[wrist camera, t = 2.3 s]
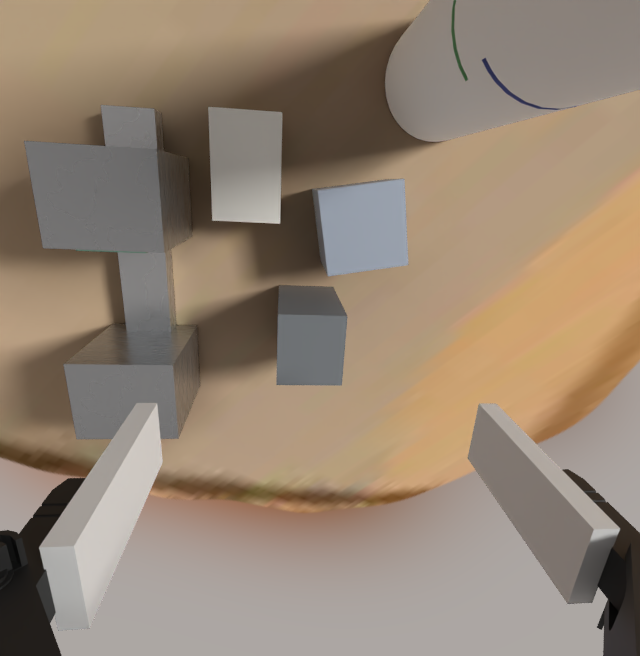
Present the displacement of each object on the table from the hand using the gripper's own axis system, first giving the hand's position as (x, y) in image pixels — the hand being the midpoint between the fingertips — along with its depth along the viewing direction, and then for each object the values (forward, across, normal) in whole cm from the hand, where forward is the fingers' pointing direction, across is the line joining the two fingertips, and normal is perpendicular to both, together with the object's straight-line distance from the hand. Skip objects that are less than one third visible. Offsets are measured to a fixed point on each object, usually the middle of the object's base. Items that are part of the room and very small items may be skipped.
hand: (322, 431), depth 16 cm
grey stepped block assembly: (+15, -11, +3) cm, 19 cm away
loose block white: (+15, -4, +10) cm, 19 cm away
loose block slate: (+15, +3, +7) cm, 17 cm away
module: (+15, 0, 0) cm, 15 cm away
